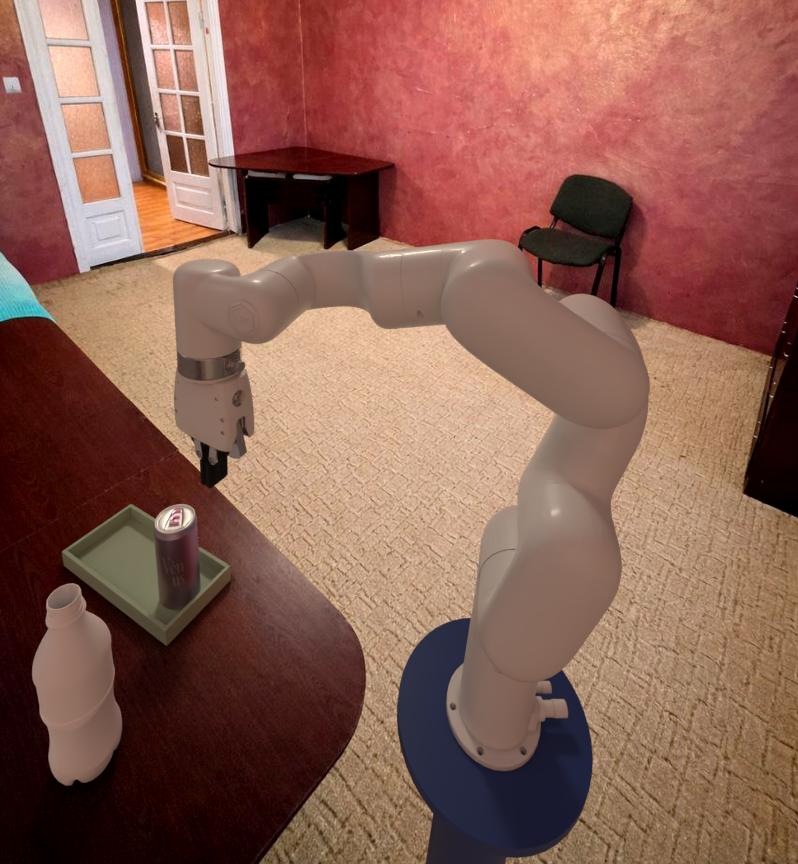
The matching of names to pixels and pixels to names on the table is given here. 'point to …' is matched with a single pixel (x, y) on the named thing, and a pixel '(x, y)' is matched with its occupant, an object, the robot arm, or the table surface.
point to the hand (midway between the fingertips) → (214, 479)
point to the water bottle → (76, 688)
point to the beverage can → (177, 556)
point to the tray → (139, 572)
